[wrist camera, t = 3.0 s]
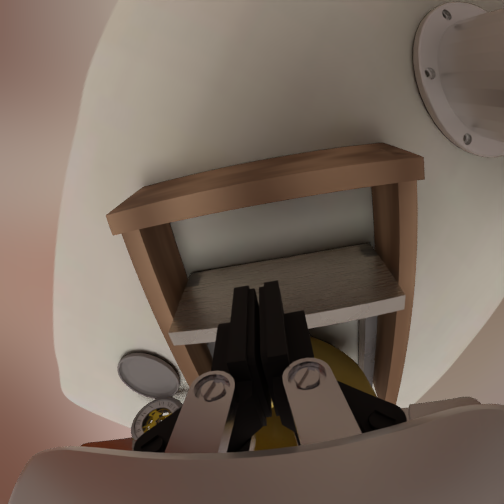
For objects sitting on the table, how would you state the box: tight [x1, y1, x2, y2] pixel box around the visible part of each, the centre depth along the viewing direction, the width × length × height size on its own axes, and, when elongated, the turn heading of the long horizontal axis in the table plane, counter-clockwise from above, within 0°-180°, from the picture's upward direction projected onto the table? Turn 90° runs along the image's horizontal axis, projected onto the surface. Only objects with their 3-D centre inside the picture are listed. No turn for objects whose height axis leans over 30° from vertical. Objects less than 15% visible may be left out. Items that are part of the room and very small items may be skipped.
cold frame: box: [106, 143, 425, 405], centre depth 22 cm, size 17×23×6 cm
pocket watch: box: [118, 353, 183, 440], centre depth 25 cm, size 8×8×10 cm
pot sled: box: [168, 243, 405, 387], centre depth 23 cm, size 14×15×7 cm
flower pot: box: [254, 336, 377, 451], centre depth 23 cm, size 9×9×9 cm
